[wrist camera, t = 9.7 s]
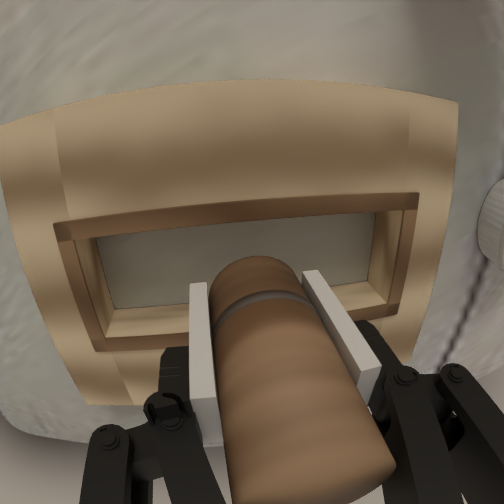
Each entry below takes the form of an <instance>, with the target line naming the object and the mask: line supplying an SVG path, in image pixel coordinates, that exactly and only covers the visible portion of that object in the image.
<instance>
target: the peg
mask: <svg viewBox="0 0 504 504" xmlns="http://www.w3.org/2000/svg"><path fill="white" fill-rule="evenodd" d="M209 307H210V319H211V331H212V334H211V336H212V346H213V353H214V363H215V373H216V383H217V392H218V401H219V410H220V418H221V426H222V434H223V442H224V450H225V457H226V464H227V471H228V478H229V485H230V492H231V498H232V504H349V503H351V502H353V501H355V500H357V499H359V498H361V497H363V496H365V495H366V494H368V493H370V492H371V491H373V490H374V489H376V488H377V487H379V486H380V485H381V484H382V483H384V482H385V481H386V480H387V479H388V478H389V477H390V476H391V475H392V473H393V472H394V470H395V468H396V462H395V460H394V458H393V456H392V454H391V452H390V450H389V448H388V446H387V444H386V442H385V441H384V439H383V437H382V435H381V433H380V431H379V429H378V427H377V425H376V423H375V421H374V419H373V417H372V415H371V413H370V411H369V409H368V408H367V406H366V404H365V402H364V400H363V398H362V396H361V394H360V392H359V390H358V388H357V387H356V385H355V383H354V381H353V379H352V377H351V375H350V373H349V371H348V370H347V368H346V366H345V364H344V362H343V360H342V358H341V357H340V355H339V353H338V351H337V349H336V347H335V345H334V344H333V342H332V340H331V338H330V336H329V334H328V333H327V331H326V329H325V327H324V325H323V321H322V319H321V317H320V315H319V313H318V312H317V310H316V308H315V307H314V305H313V304H312V303H311V302H310V300H309V298H308V296H307V294H306V293H305V291H304V289H303V287H302V286H301V284H300V282H299V280H298V278H297V277H296V275H295V273H294V272H293V270H292V269H291V268H290V267H289V266H288V265H286V264H285V263H284V262H282V261H280V260H278V259H275V258H272V257H267V256H251V257H246V258H242V259H240V260H237V261H235V262H233V263H231V264H229V265H228V266H227V267H225V268H224V269H223V270H222V271H221V272H220V273H219V274H218V275H217V277H216V278H215V280H214V281H213V283H212V286H211V288H210V292H209Z"/></svg>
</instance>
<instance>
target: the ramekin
mask: <svg viewBox="0 0 504 504" xmlns="http://www.w3.org/2000/svg"><path fill="white" fill-rule="evenodd" d="M477 234H478V243H479V247H480V249H481V251H482V253H483V254H484V255H485V256H486V257H487V258H488V259H490V260H491V261H492V262H493V263H494V264H496V265H497V266H498V267H499V268H500V269H501V270H502V272H503V273H504V179H502V180H500V181H499V182H497V183H496V184H495V185H494V186H493V187H492V189H491V190H490V191H489V193H488V195H487V197H486V199H485V201H484V203H483V206H482V209H481V212H480V216H479V221H478V233H477Z"/></svg>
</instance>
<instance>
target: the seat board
mask: <svg viewBox="0 0 504 504" xmlns="http://www.w3.org/2000/svg"><path fill="white" fill-rule="evenodd" d="M457 134H458V102H454V101H450V100H446V99H441V98H437V97H432V96H428V95H423V94H418V93H412V92H407V91H401V90H395V89H389V88H382V87H375V86H367V85H359V84H350V83H339V82H327V81H311V80H282V79H253V80H224V81H208V82H196V83H185V84H176V85H167V86H159V87H152V88H145V89H139V90H133V91H127V92H121V93H116V94H111V95H106V96H101V97H96V98H92V99H88V100H83V101H79V102H75V103H71V104H67V105H63V106H60V107H56V108H53V109H49V110H46V111H42V112H39V113H36V114H33V115H29V116H26V117H23V118H20V119H17V120H15V121H12V122H9V123H6V124H3V125H1V126H0V178H1V184H2V189H3V194H4V198H5V203H6V207H7V212H8V216H9V220H10V224H11V228H12V231H13V235H14V239H15V242H16V245H17V249H18V252H19V255H20V258H21V262H22V265H23V268H24V271H25V274H26V276H27V279H28V282H29V285H30V287H31V290H32V293H33V295H34V298H35V301H36V303H37V306H38V308H39V310H40V313H41V315H42V318H43V320H44V322H45V324H46V327H47V329H48V331H49V333H50V336H51V338H52V340H53V342H54V344H55V346H56V348H57V350H58V352H59V354H60V356H61V358H62V360H63V362H64V364H65V366H66V368H67V370H68V372H69V374H70V375H71V377H72V379H73V381H74V383H75V384H76V386H77V388H78V390H79V391H80V393H81V395H82V396H83V398H84V400H85V401H86V403H87V404H88V405H144V403H145V401H146V400H147V398H148V397H149V396H150V395H152V394H153V393H155V392H157V391H158V381H159V369H160V358H161V355H162V354H163V352H164V351H165V349H166V348H167V347H178V346H189V303H188V304H178V305H166V306H155V307H142V308H129V309H114V306H113V303H112V300H111V296H110V293H109V289H108V286H107V282H106V279H105V275H104V271H103V268H102V264H101V260H100V256H99V252H98V248H97V243H96V239H95V237H101V236H109V235H118V234H126V233H135V232H144V231H153V230H162V229H171V228H181V227H190V226H200V225H210V224H221V223H232V222H243V221H254V220H266V219H278V218H291V217H304V216H317V215H332V214H347V213H363V212H376V219H375V228H374V237H373V245H372V253H371V260H370V267H369V274H368V280H367V281H365V282H359V283H352V284H345V285H339V286H332V287H330V288H331V290H332V291H333V293H334V294H335V296H336V297H337V299H338V300H339V302H340V303H341V305H342V306H343V307H344V309H345V310H346V312H347V313H348V315H349V316H350V318H351V319H352V321H353V322H354V321H359V320H364V319H365V320H367V321H368V322H370V323H371V324H373V325H374V326H375V327H376V329H377V330H378V331H379V333H380V335H382V337H383V338H384V340H385V342H387V344H388V345H389V347H390V348H391V349H392V351H393V352H394V354H395V355H396V356H397V358H398V359H399V361H400V362H401V364H402V363H405V362H408V361H410V358H411V355H412V353H413V350H414V347H415V344H416V341H417V338H418V335H419V332H420V329H421V326H422V323H423V320H424V317H425V314H426V310H427V307H428V303H429V300H430V296H431V293H432V289H433V285H434V282H435V278H436V274H437V270H438V265H439V261H440V257H441V252H442V247H443V243H444V238H445V232H446V227H447V221H448V216H449V209H450V203H451V196H452V189H453V181H454V172H455V162H456V150H457Z"/></svg>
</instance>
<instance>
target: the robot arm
mask: <svg viewBox="0 0 504 504" xmlns="http://www.w3.org/2000/svg"><path fill="white" fill-rule="evenodd" d="M302 287H303V289H304V291H305V293H306V294H307V296H308V298H309V300H310V302H311V303H312V304H313V305H314V307H315V308H316V310H317V312H318V313H319V315H320V317H321V319H322V321H323V325H324V327H325V329H326V331H327V333H328V334H329V336H330V338H331V340H332V342H333V344H334V345H335V347H336V349H337V351H338V353H339V355H340V357H341V358H342V360H343V362H344V364H345V366H346V368H347V370H348V371H349V373H350V375H351V377H352V379H353V381H354V383H355V385H356V387H357V388H358V390H359V392H360V394H361V396H362V398H363V400H364V402H365V404H366V406H367V407H368V406H369V408H370V410H371V411H372V417H373V419H374V421H375V423H376V425H377V427H378V429H379V431H380V433H381V435H382V437H383V439H384V441H385V442H386V444H387V446H388V448H389V450H390V452H391V454H392V456H393V458H394V460H395V462H396V468H395V470H394V472H393V473H392V475H391V476H390V477H389V478H388V479H387V480H386V481H385V482H384V483H382V488H383V494H384V501H385V504H464V502H463V498H462V495H461V493H462V494H463V496H464V498H465V500H466V501H467V503H468V504H504V414H503V413H502V411H501V410H500V409H499V408H498V406H497V405H496V404H495V403H494V401H493V400H492V399H491V398H490V396H489V395H488V394H487V393H486V392H485V390H484V389H483V388H482V387H481V385H480V384H479V383H478V382H477V381H476V379H475V378H474V377H473V376H472V375H471V373H470V372H469V371H468V370H467V369H466V368H465V367H463V366H461V365H459V364H455V363H450V364H446V365H445V366H443V367H442V369H441V371H440V373H439V374H419V373H418V371H416V370H415V369H414V368H412V367H409V366H403V365H402V364H401V362H400V361H399V359H398V358H397V356H396V355H395V354H394V352H393V351H392V349H391V348H390V347H389V345H388V344H387V342H385V340H384V338H383V337H382V335H380V333H379V331H378V330H377V329H376V327H375V326H374V325H373V324H371V323H370V322H368V321H367V320H365V319H364V320H359V321H354V322H353V321H352V319H351V318H350V316H349V315H348V313H347V312H346V310H345V309H344V307H343V306H342V305H341V303H340V302H339V300H338V299H337V297H336V296H335V294H334V293H333V291H332V290H331V288H330V287H329V286H328V284H327V283H326V281H325V280H324V278H323V277H322V275H321V274H320V273H319V271H318V270H310V271H302ZM211 334H212V331H211V319H210V307H209V298H208V291H207V283H206V282H202V283H192V284H190V297H189V346H178V347H167V348H166V349H165V351H164V352H163V354H162V355H161V358H160V369H159V381H158V391H157V392H155V393H153V394H152V395H150V396H149V397H148V398H147V400H146V401H145V403H144V410H143V411H144V413H145V415H146V417H147V419H148V422H146V423H145V424H143V425H140V426H137V427H134V428H130V429H127V430H125V429H123V428H122V427H120V426H119V425H114V424H108V425H103V426H101V427H99V428H97V429H96V430H95V431H94V432H93V434H92V436H91V438H90V442H89V447H88V453H87V458H86V463H85V469H84V475H83V481H82V488H81V495H80V502H79V504H152V502H153V501H152V499H153V480H154V479H157V478H160V477H164V480H165V483H166V487H167V490H168V493H169V497H170V500H171V503H172V504H226V502H225V500H224V498H223V495H222V493H221V491H220V488H219V486H218V483H217V481H216V479H215V476H214V474H213V471H212V469H211V466H210V464H209V461H208V459H207V456H206V453H205V451H204V448H203V443H204V444H211V443H222V442H223V434H222V426H221V418H220V410H219V401H218V392H217V383H216V373H215V363H214V353H213V346H212V336H211ZM453 411H454V412H455V414H456V415H457V416H456V415H455V414H454V413H453Z"/></svg>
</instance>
